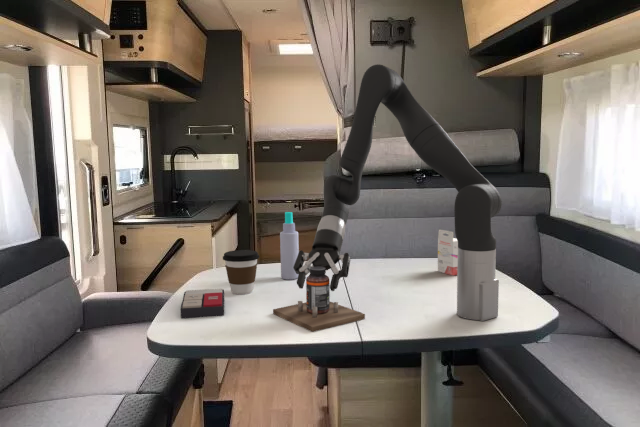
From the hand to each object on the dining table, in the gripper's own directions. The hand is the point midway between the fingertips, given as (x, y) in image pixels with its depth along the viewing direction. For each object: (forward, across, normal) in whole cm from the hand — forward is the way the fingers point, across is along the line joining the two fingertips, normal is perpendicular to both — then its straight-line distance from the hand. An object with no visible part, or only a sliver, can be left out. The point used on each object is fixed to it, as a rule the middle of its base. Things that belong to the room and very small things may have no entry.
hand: (315, 288), depth 137 cm
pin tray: (+4, 0, +6) cm, 8 cm away
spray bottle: (-22, -23, +33) cm, 45 cm away
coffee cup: (-7, -30, +18) cm, 36 cm away
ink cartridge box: (-37, +27, +48) cm, 67 cm away
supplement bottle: (+4, 0, +6) cm, 7 cm away
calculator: (+7, -32, +5) cm, 33 cm away
